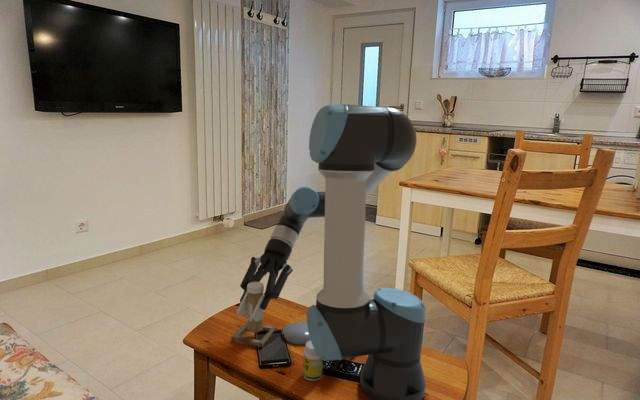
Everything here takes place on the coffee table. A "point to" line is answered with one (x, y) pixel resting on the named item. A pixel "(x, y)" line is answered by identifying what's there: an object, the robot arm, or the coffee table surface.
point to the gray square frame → (248, 341)
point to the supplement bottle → (312, 363)
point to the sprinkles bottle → (254, 306)
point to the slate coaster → (297, 333)
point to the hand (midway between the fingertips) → (246, 317)
